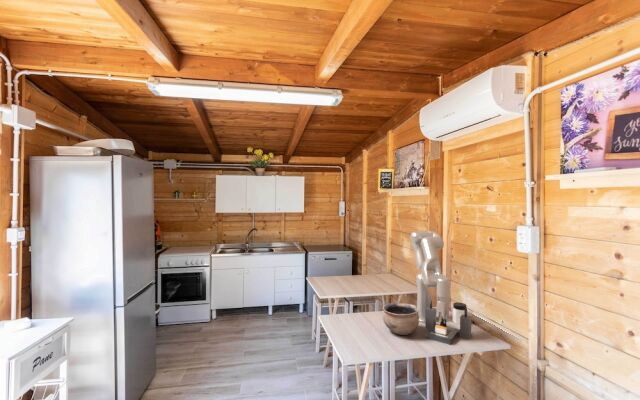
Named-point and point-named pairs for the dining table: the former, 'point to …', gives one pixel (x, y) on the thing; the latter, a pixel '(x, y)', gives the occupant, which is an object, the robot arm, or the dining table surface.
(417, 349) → the dining table surface
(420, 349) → the dining table surface
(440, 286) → the robot arm
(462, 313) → the jar
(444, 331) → the block
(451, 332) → the breaker panel
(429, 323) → the left plug adapter
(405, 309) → the ceramic bowl
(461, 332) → the right plug adapter
